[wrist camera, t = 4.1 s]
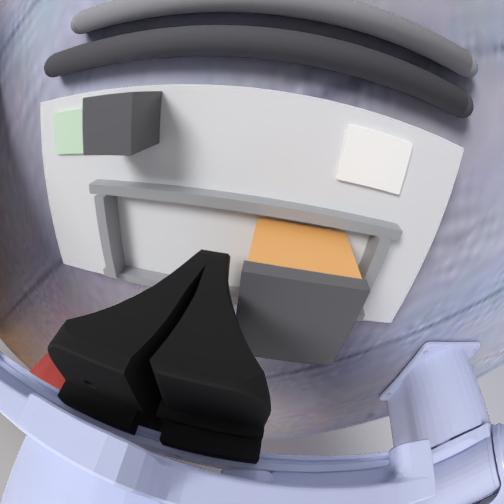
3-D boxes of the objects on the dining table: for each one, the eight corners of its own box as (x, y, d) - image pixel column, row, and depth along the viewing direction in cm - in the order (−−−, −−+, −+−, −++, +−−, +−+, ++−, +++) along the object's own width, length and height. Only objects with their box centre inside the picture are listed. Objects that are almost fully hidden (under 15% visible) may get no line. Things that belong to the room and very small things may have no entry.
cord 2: (459, 120, 10) (476, 124, 8) (55, 78, 11) (38, 80, 9) (464, 94, 9) (480, 96, 8) (57, 56, 10) (40, 56, 8)
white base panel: (383, 301, 16) (400, 354, 13) (78, 248, 17) (43, 285, 13) (444, 140, 11) (495, 162, 7) (62, 98, 11) (8, 110, 8)
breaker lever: (324, 300, 14) (330, 365, 10) (245, 288, 14) (232, 352, 11) (348, 230, 12) (370, 290, 8) (255, 214, 12) (241, 271, 8)
